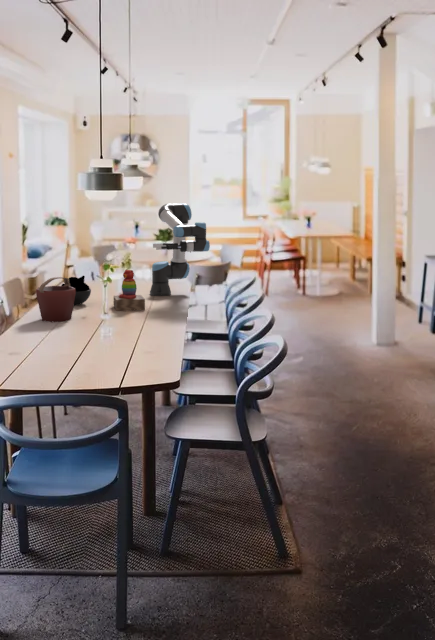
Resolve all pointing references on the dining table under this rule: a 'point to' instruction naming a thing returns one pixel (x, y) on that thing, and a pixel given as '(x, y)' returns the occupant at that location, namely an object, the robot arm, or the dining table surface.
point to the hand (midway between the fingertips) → (154, 246)
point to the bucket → (56, 301)
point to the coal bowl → (79, 289)
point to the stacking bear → (128, 285)
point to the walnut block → (129, 303)
